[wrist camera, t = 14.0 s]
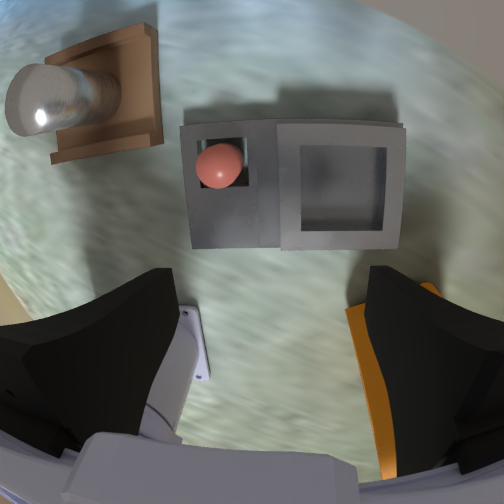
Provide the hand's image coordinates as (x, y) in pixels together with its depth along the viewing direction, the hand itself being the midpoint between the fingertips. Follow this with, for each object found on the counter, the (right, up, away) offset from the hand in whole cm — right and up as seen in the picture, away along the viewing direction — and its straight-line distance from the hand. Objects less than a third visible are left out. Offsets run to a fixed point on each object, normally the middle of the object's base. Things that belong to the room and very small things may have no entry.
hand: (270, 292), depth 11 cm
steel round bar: (-11, +11, +6) cm, 17 cm away
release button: (-2, +7, +8) cm, 11 cm away
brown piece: (-11, +12, +7) cm, 17 cm away
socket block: (+2, +6, +8) cm, 10 cm away
